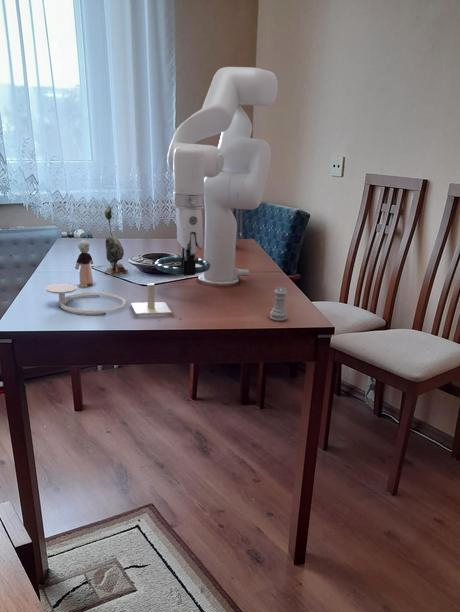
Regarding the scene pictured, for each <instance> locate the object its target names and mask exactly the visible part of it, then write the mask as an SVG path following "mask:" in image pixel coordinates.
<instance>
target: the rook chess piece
mask: <svg viewBox="0 0 460 612" xmlns="http://www.w3.org/2000/svg"><path fill="white" fill-rule="evenodd" d="M273 293H274V295H275V296H274V305H273V307H272V308H271V311H270V313H269V314H270V315H269V318H270V320H271V321H274V322H285V321H286V320H287V319H288V317H287V316H288V313H287V311H286V306H285V301H286V299H287V298H286V295H287V294H288V292H287V288H286V287H284V286H276V287H275V290H274V291H273Z"/></svg>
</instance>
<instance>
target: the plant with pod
mask: <svg viewBox="0 0 460 612" xmlns="http://www.w3.org/2000/svg"><path fill="white" fill-rule="evenodd" d="M104 217H105V218H106V220H107V221H108V226H109V230H110V235H109V236H107V237H105V250H106V251H105V252H106V260H107V261H108V263H110V266H109V267H107V268H106V270H104V273H106V274H107V275H111V276H113V275H114V276H117V275H129V273H130V271H129V270H128V269H127V268H125V267H124V264H123V263H122V262H119V261H120V260H123V257H124V256H125V252H124V251H125V250H124V248H123V245H122V243H121V242H120V240H119V239H118V238H117V237H116V236H115V235H113V234H112V233H113V232H112V228H111V220H112V217H113V215H112V207H111V206H110V205H107V207H106V208H105V211H104Z"/></svg>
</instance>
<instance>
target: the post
mask: <svg viewBox="0 0 460 612" xmlns="http://www.w3.org/2000/svg"><path fill="white" fill-rule="evenodd" d="M155 289H156V288H155V283H153V282H152V283H150V282H149V283H147V284H146V294H147V295H146V297H147V298H146V299H147V302H132V303H130V306H131V308H132V310H133V312H134V314H135V316H152V315H153V316H155V315H172V314H173V312H172V310H171V309H170V307H169V305H168V304H167V302H165V301H156V299H155V295H156V294H155V292H156V291H155Z"/></svg>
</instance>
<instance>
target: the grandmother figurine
mask: <svg viewBox="0 0 460 612" xmlns="http://www.w3.org/2000/svg"><path fill="white" fill-rule="evenodd" d="M90 245H91V244H90V242H89V241H87V240H85V239H83V240H81V241H79V242H78V243H77V248H78V249H79V251H80V253H79V254H78V257H77V260H76V263H75V267H74V268H75V270H77V271H78V270H79V285H78V287H80V288H87V287H89V286H93V283H94V278H93V273H92V268H91V265H93V264H94V261H93V257H92V255H91V254H90V253H89V250H90Z"/></svg>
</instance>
